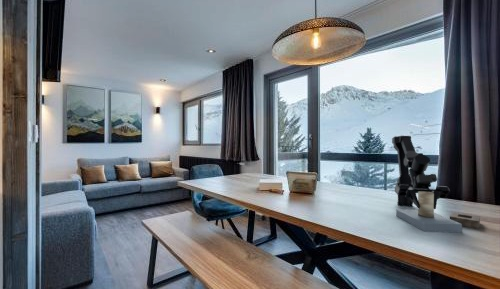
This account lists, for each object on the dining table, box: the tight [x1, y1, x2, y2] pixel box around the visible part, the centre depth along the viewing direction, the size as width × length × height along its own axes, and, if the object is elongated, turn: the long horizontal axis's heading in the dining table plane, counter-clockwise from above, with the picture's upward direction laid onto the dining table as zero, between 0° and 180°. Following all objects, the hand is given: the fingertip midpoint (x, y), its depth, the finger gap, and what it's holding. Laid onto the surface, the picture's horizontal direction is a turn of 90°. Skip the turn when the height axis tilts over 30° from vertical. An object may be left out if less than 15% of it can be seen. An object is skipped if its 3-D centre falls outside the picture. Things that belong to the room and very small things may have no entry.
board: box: [395, 208, 463, 233], centre depth 104 cm, size 20×14×3 cm
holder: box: [449, 211, 481, 230], centre depth 104 cm, size 9×9×3 cm
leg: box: [417, 191, 435, 218], centre depth 104 cm, size 6×6×13 cm
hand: (427, 208), depth 103 cm, fingers closed on leg, 5 cm apart
